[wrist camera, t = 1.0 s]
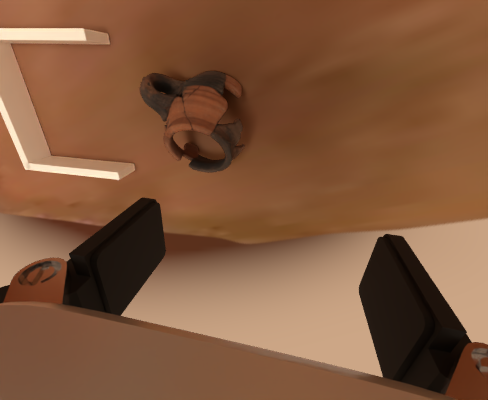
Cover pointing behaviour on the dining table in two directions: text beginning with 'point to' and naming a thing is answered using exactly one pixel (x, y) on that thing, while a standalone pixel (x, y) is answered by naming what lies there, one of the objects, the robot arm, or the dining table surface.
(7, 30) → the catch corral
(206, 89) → the pottery mug
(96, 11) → the dining table surface
